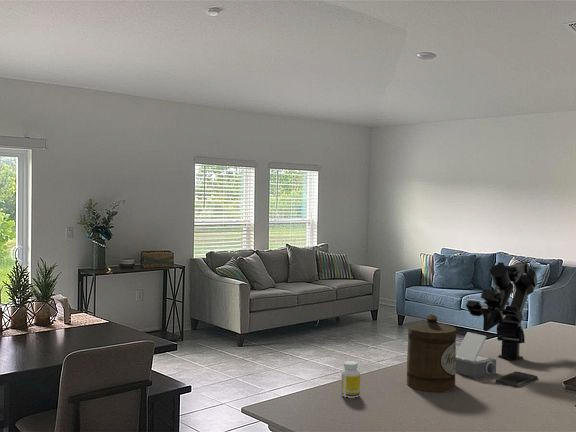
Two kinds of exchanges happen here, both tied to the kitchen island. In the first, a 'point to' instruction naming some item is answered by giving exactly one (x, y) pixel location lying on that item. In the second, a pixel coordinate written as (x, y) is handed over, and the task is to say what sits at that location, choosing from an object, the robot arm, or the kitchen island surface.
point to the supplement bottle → (350, 380)
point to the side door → (470, 347)
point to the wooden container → (431, 356)
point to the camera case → (476, 367)
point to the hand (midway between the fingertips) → (484, 330)
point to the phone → (516, 379)
